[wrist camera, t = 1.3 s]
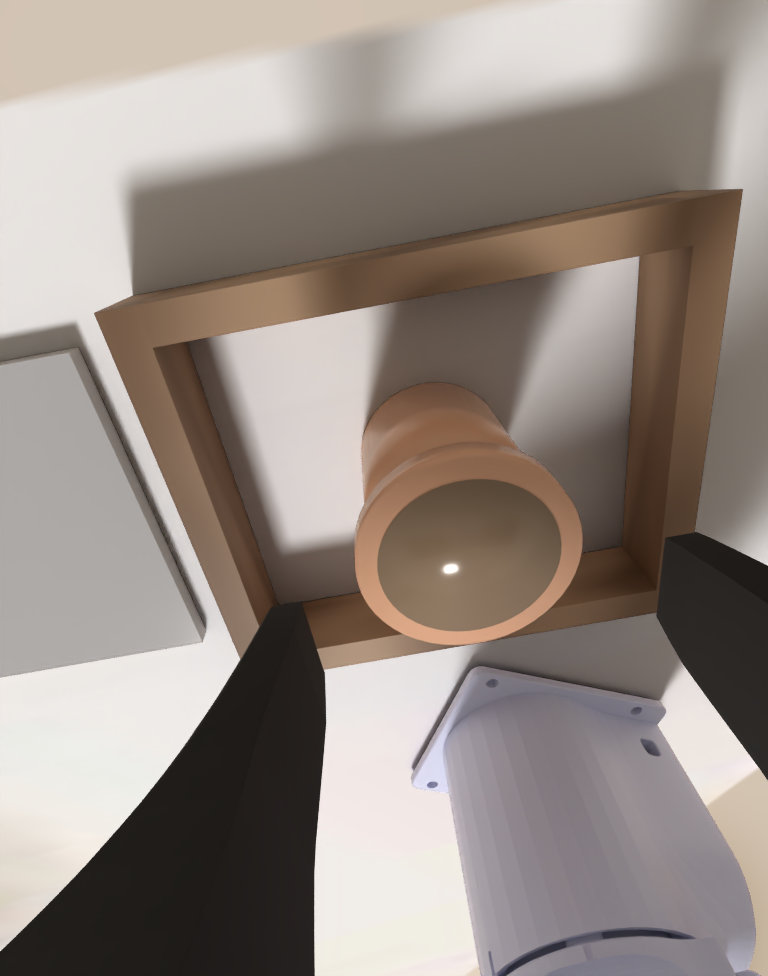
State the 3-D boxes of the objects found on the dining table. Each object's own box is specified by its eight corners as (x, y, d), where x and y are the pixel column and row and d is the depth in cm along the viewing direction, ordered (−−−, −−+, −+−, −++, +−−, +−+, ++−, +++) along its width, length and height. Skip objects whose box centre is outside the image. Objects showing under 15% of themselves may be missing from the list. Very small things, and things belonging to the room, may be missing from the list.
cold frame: (681, 190, 14) (742, 189, 12) (646, 563, 20) (683, 607, 18) (132, 295, 14) (93, 312, 12) (260, 630, 20) (250, 682, 18)
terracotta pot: (537, 400, 17) (626, 494, 11) (473, 533, 19) (522, 662, 14) (380, 350, 16) (399, 429, 10) (333, 497, 18) (327, 623, 13)
